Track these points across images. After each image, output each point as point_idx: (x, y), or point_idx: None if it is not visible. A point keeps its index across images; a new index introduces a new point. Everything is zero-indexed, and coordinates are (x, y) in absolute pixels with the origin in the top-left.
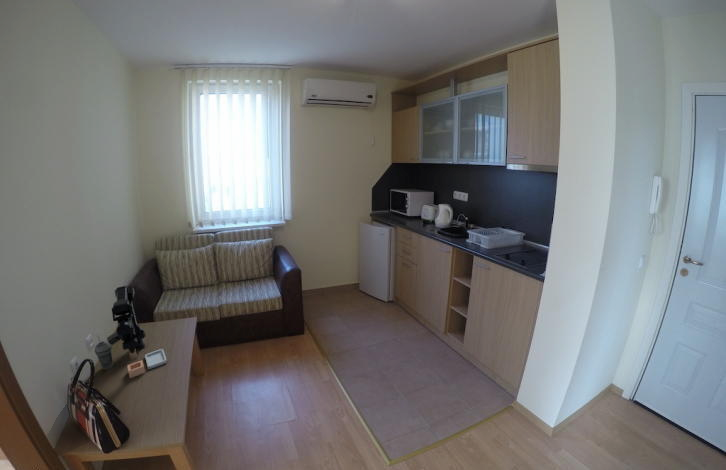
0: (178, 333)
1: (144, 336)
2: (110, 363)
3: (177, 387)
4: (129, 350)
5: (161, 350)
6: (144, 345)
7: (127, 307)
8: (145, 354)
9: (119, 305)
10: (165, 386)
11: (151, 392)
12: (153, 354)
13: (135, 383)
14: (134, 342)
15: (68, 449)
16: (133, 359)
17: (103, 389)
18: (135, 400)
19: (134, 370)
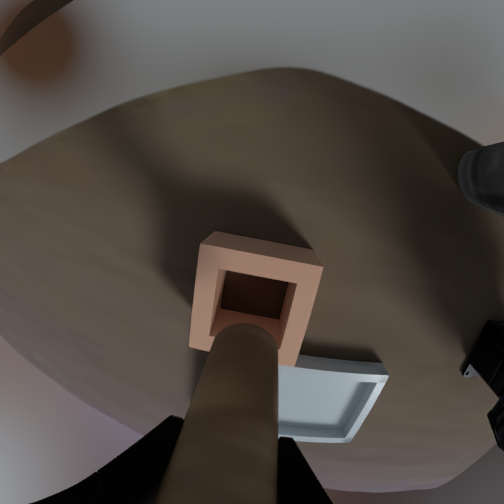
0: (408, 470)
1: (490, 423)
2: (476, 189)
3: (18, 340)
4: (184, 451)
5: (342, 434)
6: (475, 375)
7: None
8: (386, 379)
9: None
10: (35, 322)
11: (27, 271)
12: (356, 400)
13: (129, 240)
14: None
15: (9, 25)
16: (210, 351)
17: (230, 75)
18: (20, 204)
19: (195, 284)
